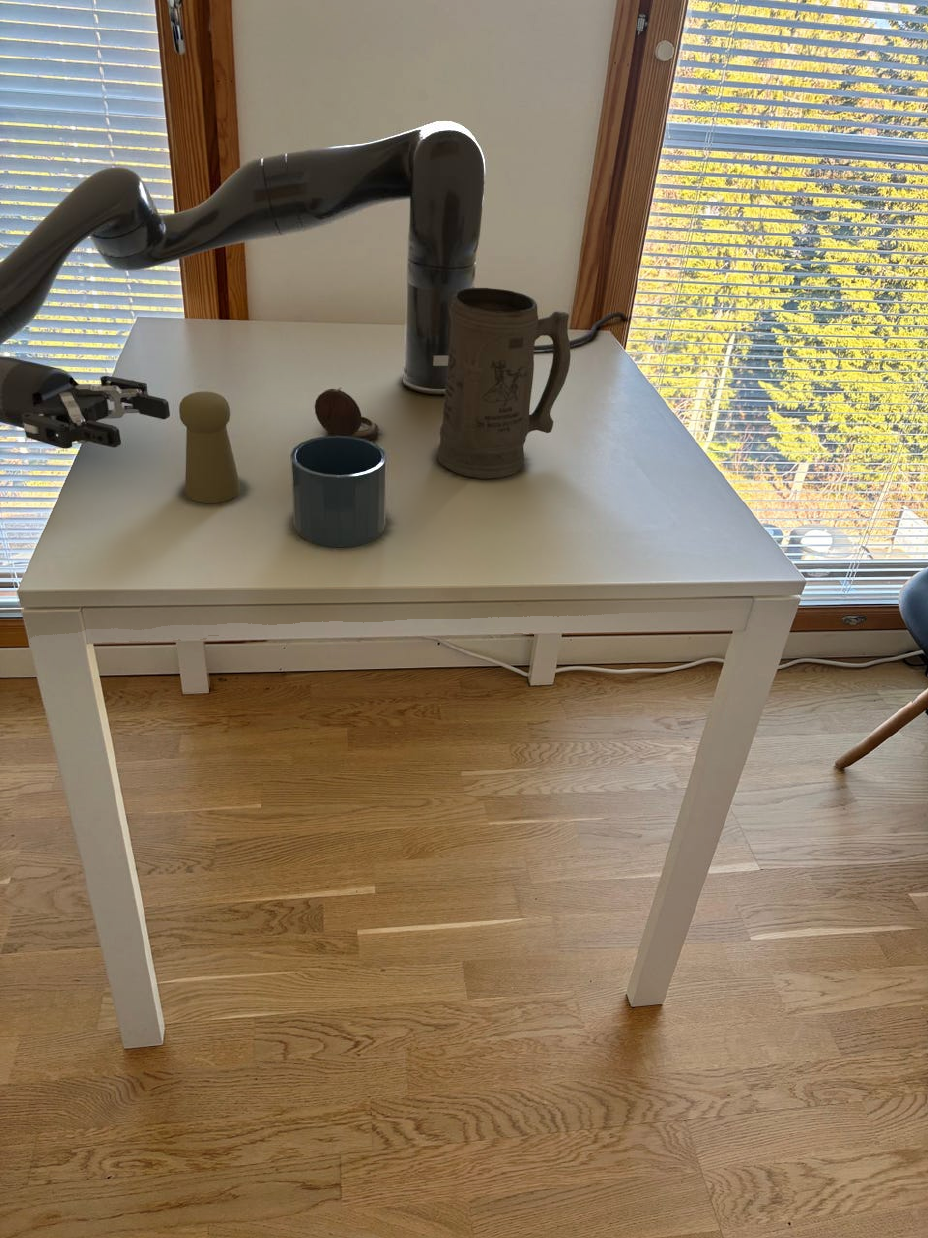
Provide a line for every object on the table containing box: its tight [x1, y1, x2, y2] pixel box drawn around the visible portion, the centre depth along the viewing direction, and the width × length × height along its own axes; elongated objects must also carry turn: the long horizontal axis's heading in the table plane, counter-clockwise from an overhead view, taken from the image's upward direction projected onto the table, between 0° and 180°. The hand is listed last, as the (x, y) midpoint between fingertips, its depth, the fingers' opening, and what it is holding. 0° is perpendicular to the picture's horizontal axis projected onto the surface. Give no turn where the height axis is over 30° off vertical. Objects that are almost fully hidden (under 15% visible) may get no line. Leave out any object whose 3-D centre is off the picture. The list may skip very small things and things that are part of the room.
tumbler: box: [289, 435, 388, 548], centre depth 94 cm, size 10×10×8 cm
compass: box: [314, 387, 379, 441], centre depth 113 cm, size 8×8×7 cm
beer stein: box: [437, 287, 572, 479], centre depth 107 cm, size 15×11×20 cm
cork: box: [178, 391, 242, 504], centre depth 97 cm, size 6×6×11 cm
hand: (143, 423), depth 99 cm, fingers open, 8 cm apart
